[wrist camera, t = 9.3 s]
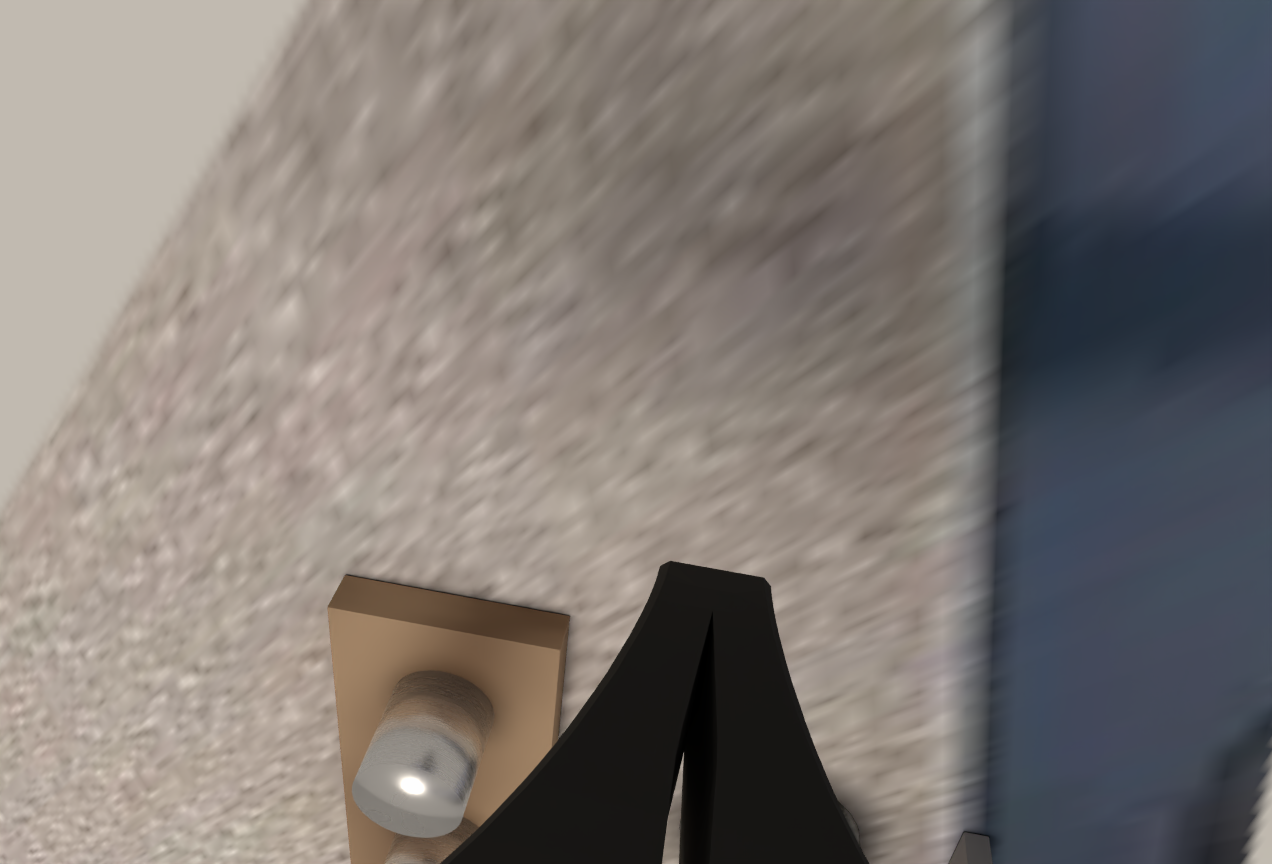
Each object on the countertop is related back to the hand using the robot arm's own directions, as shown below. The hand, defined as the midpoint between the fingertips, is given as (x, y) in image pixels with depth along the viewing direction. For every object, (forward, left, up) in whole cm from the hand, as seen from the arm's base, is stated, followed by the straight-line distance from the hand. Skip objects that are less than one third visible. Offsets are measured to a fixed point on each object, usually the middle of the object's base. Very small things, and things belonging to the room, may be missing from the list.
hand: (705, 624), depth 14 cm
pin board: (+6, +16, -9) cm, 20 cm away
